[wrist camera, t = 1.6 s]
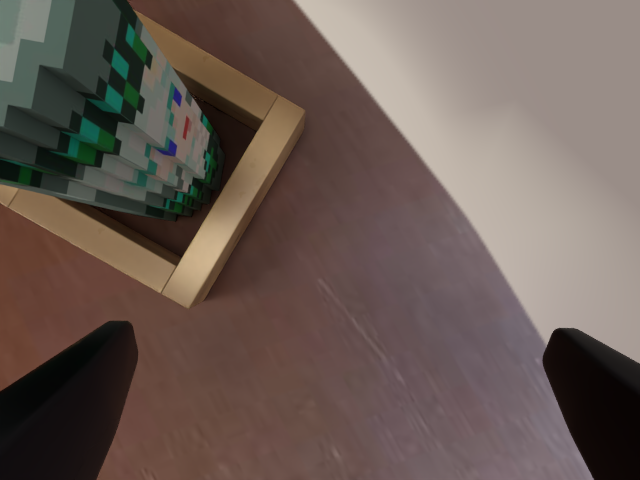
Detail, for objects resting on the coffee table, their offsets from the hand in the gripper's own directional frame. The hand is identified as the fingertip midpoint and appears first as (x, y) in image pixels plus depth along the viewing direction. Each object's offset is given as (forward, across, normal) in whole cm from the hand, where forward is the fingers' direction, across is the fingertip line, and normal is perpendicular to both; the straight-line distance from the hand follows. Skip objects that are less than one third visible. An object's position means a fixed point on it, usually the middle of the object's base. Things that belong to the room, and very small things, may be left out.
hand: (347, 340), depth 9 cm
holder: (+15, +8, +1) cm, 17 cm away
